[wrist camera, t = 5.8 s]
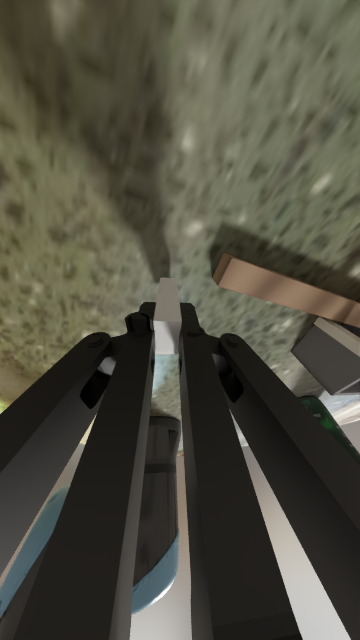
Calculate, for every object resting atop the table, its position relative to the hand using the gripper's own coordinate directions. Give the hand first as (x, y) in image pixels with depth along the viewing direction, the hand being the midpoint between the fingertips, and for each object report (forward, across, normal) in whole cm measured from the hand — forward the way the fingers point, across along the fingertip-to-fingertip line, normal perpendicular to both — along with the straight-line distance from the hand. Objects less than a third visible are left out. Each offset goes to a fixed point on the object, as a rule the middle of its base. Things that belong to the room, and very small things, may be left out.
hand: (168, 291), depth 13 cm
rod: (+2, +16, 0) cm, 16 cm away
